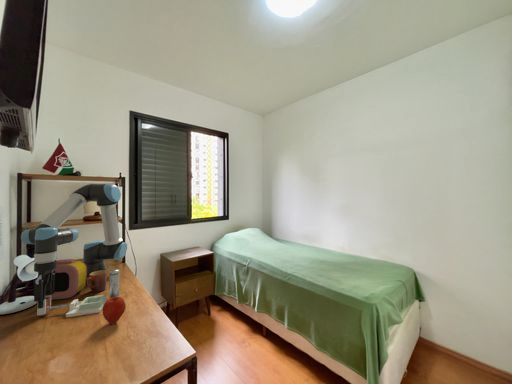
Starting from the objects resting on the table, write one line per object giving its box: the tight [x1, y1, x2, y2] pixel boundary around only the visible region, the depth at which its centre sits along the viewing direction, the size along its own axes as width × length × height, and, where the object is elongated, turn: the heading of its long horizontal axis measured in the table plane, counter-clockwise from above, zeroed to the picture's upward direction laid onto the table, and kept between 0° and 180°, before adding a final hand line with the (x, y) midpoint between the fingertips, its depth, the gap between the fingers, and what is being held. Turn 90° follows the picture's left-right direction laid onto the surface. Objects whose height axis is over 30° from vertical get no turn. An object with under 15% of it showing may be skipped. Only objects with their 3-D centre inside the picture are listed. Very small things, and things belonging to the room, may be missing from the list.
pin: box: [37, 296, 82, 317], centre depth 101 cm, size 4×16×7 cm, turn 111°
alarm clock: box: [45, 258, 87, 301], centre depth 118 cm, size 18×11×19 cm, turn 102°
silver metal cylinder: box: [108, 268, 120, 299], centre depth 115 cm, size 4×4×15 cm
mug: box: [85, 270, 109, 294], centre depth 123 cm, size 12×9×10 cm
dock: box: [65, 294, 108, 318], centre depth 105 cm, size 12×13×4 cm
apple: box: [102, 296, 126, 325], centre depth 93 cm, size 9×8×11 cm
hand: (44, 311), depth 99 cm, fingers closed on pin, 4 cm apart
